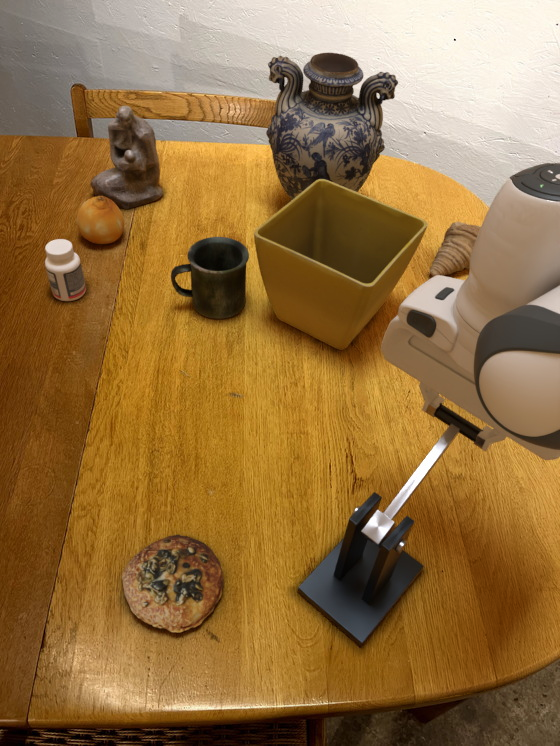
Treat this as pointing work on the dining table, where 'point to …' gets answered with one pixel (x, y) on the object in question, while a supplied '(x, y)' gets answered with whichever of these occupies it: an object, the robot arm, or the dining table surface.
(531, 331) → the robot arm
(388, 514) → the lever
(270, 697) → the dining table surface
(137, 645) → the dining table surface
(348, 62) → the decorative vase
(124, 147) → the figurine
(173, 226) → the dining table surface
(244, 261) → the mug
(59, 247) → the pill bottle
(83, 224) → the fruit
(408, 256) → the flower pot
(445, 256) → the seashell
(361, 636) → the bracket
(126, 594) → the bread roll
